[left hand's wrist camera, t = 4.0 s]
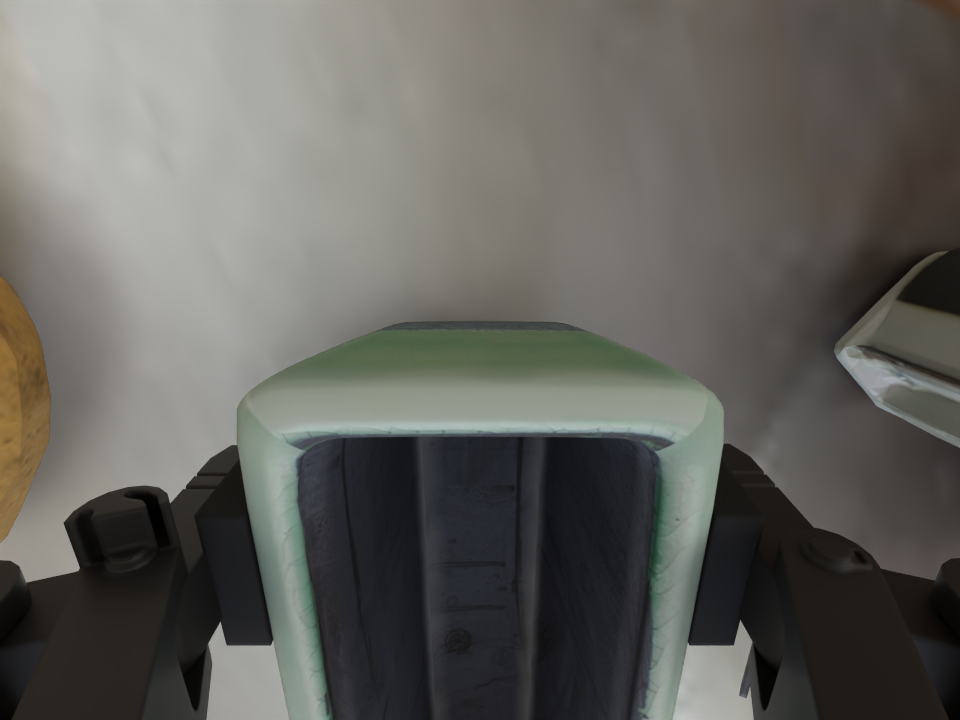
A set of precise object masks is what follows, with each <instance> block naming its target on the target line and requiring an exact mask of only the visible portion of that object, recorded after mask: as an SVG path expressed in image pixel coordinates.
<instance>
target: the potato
mask: <svg viewBox="0 0 960 720" xmlns="http://www.w3.org/2000/svg"><path fill="white" fill-rule="evenodd" d="M50 400H51V396H50V390H49V385H48V379H47V373H46V368H45V362H44V356H43V351H42V345H41V341H40V338H39V336H38V333H37V330H36V328H35V325H34V323H33V321H32V320H31V318H30V316H29V314H28V313H27V311H26V309H25V307H24V306H23V304H22V302H21V301H20V299H19V297H18V295H17V294H16V292H15V290H14V288H13V287H12V286H11V285H10V284H8V283H7V282H6V281H5V280H4V279H3V278H2V277H1V276H0V542H2V541H3V540H4V539H5V538H6V537H7V536H8V534H9V532H10V530H11V528H12V526H13V524H14V522H15V520H16V518H17V516H18V514H19V512H20V510H21V508H22V505H23V503H24V500H25V498H26V495H27V493H28V491H29V488H30V486H31V483H32V481H33V478H34V476H35V474H36V471H37V469H38V466H39V464H40V462H41V459H42V457H43V455H44V452H45V450H46V447H47V445H48V443H49V430H50Z"/></svg>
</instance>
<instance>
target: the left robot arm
mask: <svg viewBox="0 0 960 720" xmlns="http://www.w3.org/2000/svg"><path fill="white" fill-rule="evenodd" d="M64 525H65V528H66V531H67V534H68V536H69V539H70V542H71V544H72V547H73V550H74V553H75V555H76V558H77V561H78V563H79V566H80V569H79V571H77V572H74V573H69V574H64V575H60V576H55V577H51V578H46V579H41V580H37V581H32V582H28V583H26V581H25V579H24V576H23V574H22V572H21V569H20V567H19V566H18V565H16V564H14V563H13V562H11V561H2V560H0V720H206V717H207V708H208V699H209V689H210V680H211V671H212V660H211V654H210V650H209V646H208V643H209V641H210V639H211V637H212V636H213V634H214V632H215V630H216V628H217V627H218V625H219V623H220V621H221V625H222V629H223V633H224V637H225V641H226V645H271V644H272V641H273V635H272V631H271V625H270V620H269V615H268V610H267V605H266V600H265V595H264V590H263V585H262V580H261V575H260V570H259V565H258V560H257V555H256V550H255V544H254V539H253V534H252V529H251V524H250V519H249V514H248V508H247V502H246V496H245V489H244V483H243V477H242V471H241V464H240V458H239V452H238V446H237V445H231V446H230V447H228V448H226V449H225V450H223V451H222V452H220V453H218V454H217V455H215V456H214V457H212V458H210V460H209V461H208V462H207V463H206V464H205V465H204V466H203V467H202V469H201V470H200V471H199V472H198V473H197V476H194V478H193V479H192V480H191V481H190V482H189V483H188V484H187V485H186V489H183V490H182V491H181V492H180V493H179V494H178V496H177V497H176V498H175V499H174V500H173V501H172V502H171V503H170V502H169V498H168V495H167V493H166V492H165V491H163V490H162V489H160V488H158V487H152V486H135V487H127V488H123V489H119V490H116V491H112V492H108V493H106V494H104V495H102V496H99V497H97V498H95V499H93V500H90V501H88V502H87V503H85V504H84V505H82V506H81V507H80V508H78V509H77V510H75V511H74V512H73V513H72V514H71V515H70V516H69V517H68V518H67V520H66V521H65V522H64ZM740 620H741V622H742V623H743V625H744V627H745V629H746V630H747V632H748V634H749V636H750V638H751V639H752V641H753V642H752V646H751V650H750V653H749V657H748V661H747V665H746V668H745V672H744V676H743V679H742V683H741V688H740V694H739V696H742V697H745V698H747V695H748V691H749V688H751V697H752V706H753V716H754V720H960V558H956V559H950V560H948V561H947V562H945V563H943V564H942V566H941V568H940V571H939V573H938V575H937V578H936V580H935V581H934V580H929V579H925V578H920V577H915V576H911V575H906V574H902V573H897V572H892V571H888V570H884V569H881V568H880V566H879V565H878V564H877V562H876V561H875V560H874V558H873V557H872V556H871V555H870V554H869V553H868V552H867V551H865V550H864V549H863V548H861V547H860V546H859V545H858V544H856V543H854V542H852V541H850V540H848V539H846V538H844V537H842V536H841V535H839V534H835V533H832V532H829V531H826V530H822V529H818V528H813V526H812V525H811V524H810V523H809V522H808V521H807V520H806V519H805V517H804V516H803V515H802V514H801V513H800V512H799V511H798V510H797V509H796V507H795V506H794V505H793V504H792V503H791V502H790V501H789V500H788V498H787V497H786V496H785V495H784V494H783V493H782V492H781V491H780V489H779V488H778V487H775V484H774V483H773V482H772V481H771V479H770V478H769V477H768V476H767V475H764V472H763V470H762V469H761V468H760V467H759V466H758V465H757V464H756V463H755V462H754V460H753V459H752V458H751V457H750V456H748V455H747V454H745V453H743V452H742V451H740V450H739V449H737V448H735V447H734V446H732V445H730V444H723V449H722V456H721V462H720V468H719V475H718V481H717V487H716V494H715V500H714V506H713V513H712V518H711V523H710V528H709V534H708V539H707V544H706V549H705V555H704V560H703V565H702V570H701V576H700V581H699V586H698V591H697V596H696V602H695V607H694V612H693V617H692V623H691V628H690V633H689V638H688V643H689V645H734V642H735V638H736V634H737V630H738V626H739V622H740Z"/></svg>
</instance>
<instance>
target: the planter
mask: <svg viewBox="0 0 960 720" xmlns="http://www.w3.org/2000/svg"><path fill="white" fill-rule="evenodd" d="M723 443H724V408H723V406H722V404H721V402H720V401H719V400H718V398H717V397H716V396H715V395H714V393H713V392H712V391H710V390H709V389H708V388H706V387H705V386H704V385H703V384H701V383H700V382H698V381H696V380H695V379H693V378H691V377H690V376H688V375H686V374H684V373H682V372H680V371H679V370H677V369H675V368H673V367H671V366H669V365H667V364H665V363H662V362H660V361H658V360H656V359H654V358H651V357H649V356H647V355H645V354H642V353H640V352H638V351H635V350H633V349H630V348H628V347H626V346H623V345H621V344H618V343H616V342H613V341H611V340H608V339H606V338H603V337H601V336H598V335H596V334H593V333H590V332H587V331H585V330H582V329H579V328H577V327H574V326H571V325H568V324H563V323H556V322H406V323H399V324H395V325H392V326H389V327H386V328H383V329H380V330H378V331H375V332H372V333H370V334H367V335H364V336H362V337H359V338H357V339H354V340H351V341H349V342H346V343H344V344H341V345H339V346H336V347H334V348H332V349H329V350H327V351H324V352H322V353H319V354H317V355H315V356H313V357H310V358H308V359H306V360H303V361H301V362H299V363H297V364H294V365H292V366H290V367H288V368H286V369H285V370H283V371H281V372H279V373H277V374H275V375H273V376H271V377H270V378H268V379H266V380H265V381H263V382H262V383H260V384H259V385H257V386H256V387H255V388H253V389H252V390H251V391H250V392H248V393H247V395H246V396H245V397H244V398H243V399H242V401H241V402H240V404H239V406H238V408H237V446H238V452H239V458H240V464H241V471H242V477H243V483H244V489H245V496H246V502H247V508H248V514H249V519H250V524H251V529H252V534H253V539H254V544H255V550H256V555H257V560H258V565H259V570H260V575H261V580H262V585H263V590H264V595H265V600H266V605H267V610H268V615H269V620H270V625H271V631H272V635H273V641H274V646H275V651H276V656H277V660H278V665H279V670H280V675H281V680H282V685H283V690H284V695H285V700H286V705H287V710H288V715H289V720H672V719H673V714H674V709H675V704H676V699H677V694H678V689H679V683H680V678H681V673H682V668H683V663H684V658H685V653H686V648H687V643H688V638H689V633H690V628H691V623H692V617H693V612H694V607H695V602H696V596H697V591H698V586H699V581H700V576H701V570H702V565H703V560H704V555H705V549H706V544H707V539H708V534H709V528H710V523H711V518H712V513H713V506H714V500H715V494H716V487H717V481H718V475H719V468H720V462H721V456H722V449H723Z"/></svg>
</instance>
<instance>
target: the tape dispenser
mask: <svg viewBox="0 0 960 720" xmlns="http://www.w3.org/2000/svg"><path fill="white" fill-rule="evenodd" d="M834 352H835V354H836V357H837V359H838V360H839V361H840V362H841V364H842V365H843V366H844V367H845V368H846V369H847V371H848V372H849V373H850V374H851V375H852V377H853V378H854V379H855V380H856V381H857V382H858V384H859V385H860V386H861V387H862V388H863V390H864V391H865V392H866V393H867V394H868V395H869V397H870V398H871V399H872V401H873V402H874V403H875V405H876V406H878V407H880V408H882V409H883V410H886V411H888V412H890V413H892V414H894V415H896V416H899V417H901V418H903V419H905V420H906V421H908V422H910V423H912V424H913V425H915V426H917V427H919V428H921V429H923V430H925V431H927V432H929V433H930V434H932V435H934V436H936V437H938V438H940V439H942V440H944V441H947V442H949V443H951V444H953V445H955V446H957V447H959V448H960V248H957V249H953V250H950V251H944V252H936V253H934V254H932V255H930V256H928V257H926V258H925V259H924V260H922V261H921V262H919V263H918V264H916V265H915V266H914V267H913V268H912V269H911V270H910V271H909V272H908V273H907V274H906V275H905V276H904V277H903V278H902V279H901V280H900V281H899V282H898V283H897V284H896V285H895V286H893V287H892V288H891V289H890V290H889V291H888V292H887V293H886V294H885V295H884V296H883V297H882V298H881V299H880V300H879V301H878V302H877V303H876V304H875V305H874V306H873V307H872V308H871V309H870V310H869V311H868V312H867V313H866V314H865V315H864V316H863V317H862V318H861V319H860V320H859V321H858V322H857V323H856V324H855V325H854V326H853V327H852V328H851V329H850V330H849V331H848V332H847V333H846V334H845V335H844V336H843V337H842V338H841V339H840V340H839V341H838V342H837V343H836V346H835V349H834Z"/></svg>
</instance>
